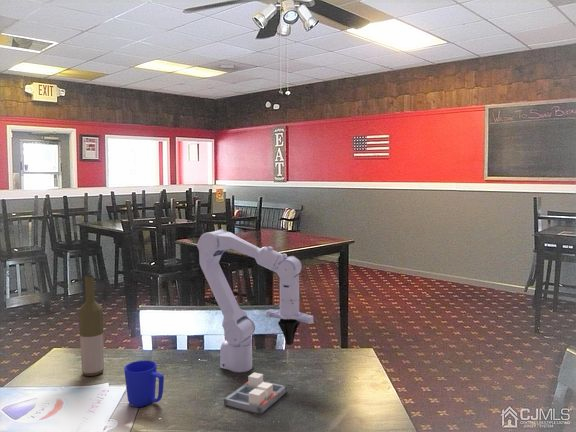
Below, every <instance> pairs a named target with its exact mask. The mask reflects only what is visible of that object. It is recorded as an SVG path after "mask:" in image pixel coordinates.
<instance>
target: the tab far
mask: <svg viewBox="0 0 576 432" xmlns="http://www.w3.org/2000/svg"><path fill="white" fill-rule="evenodd" d="M247 378H248V379H247V380H248V381H247V382H248V386H251V387H256V388H257V386H258V385H260V384H261V383H262V382H263V381H264V374H263V373H259V372H255V371H254V372H253V373H251V374H250V375H248V377H247Z"/></svg>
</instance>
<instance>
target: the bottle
mask: <svg viewBox="0 0 576 432" xmlns="http://www.w3.org/2000/svg"><path fill="white" fill-rule="evenodd" d="M84 285H85V286H84V287H85V289H84V290H85V291H84V292H85V301H84V303H83V304H82V305H81V307H80V308H79V309H78V324H79V325H78V328H79V342H80V343H79V345H80V346H79V347H80V358H81V360H80V361H81V373H82V375H83V376H89V377H93V376H97V375H101V374H102V373H104V370H105V363H104V362H105V360H104V358H105V357H104V348H105V347H104V309H103V306H102V305H100V303H99V302H98V301H96V299H95V298H96V297H95V296H96V295H95V275H93V274H92V275H91V274H90V275H89V274H88V275H85V276H84Z"/></svg>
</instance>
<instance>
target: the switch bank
mask: <svg viewBox="0 0 576 432" xmlns="http://www.w3.org/2000/svg"><path fill="white" fill-rule="evenodd" d="M263 382H265V383H270V384H273V394H272V395H271V396H269V398H268V399H266V398H265V401H263V402H262V403H261V404H260V405H259V406H257V405H253V404H249V392H251V391H252V390H253V389H257V388H256V387H251V386H248V381H246V382H244V384H243V385H241V386H240V387H238V388H237V389H236V390H235V391H233V392H232V393H230V394H229V395H227V396H226V397H225V398H223V404H224V406H229V407H233V408H236V409H240V410H244V411H248V412H252V413H257V414H263V413H264V412H265V411H266V410H267V409H269V407H271V406H272V405H274V404H275V402H277V401H278V400H279V399H281V397H282V396H283V395H285V394H286V393H287V392H288V391H287V390H288V389H287V388H288V386H287V385H282V384H277V383H275V382H269V381H264V380H263Z"/></svg>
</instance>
